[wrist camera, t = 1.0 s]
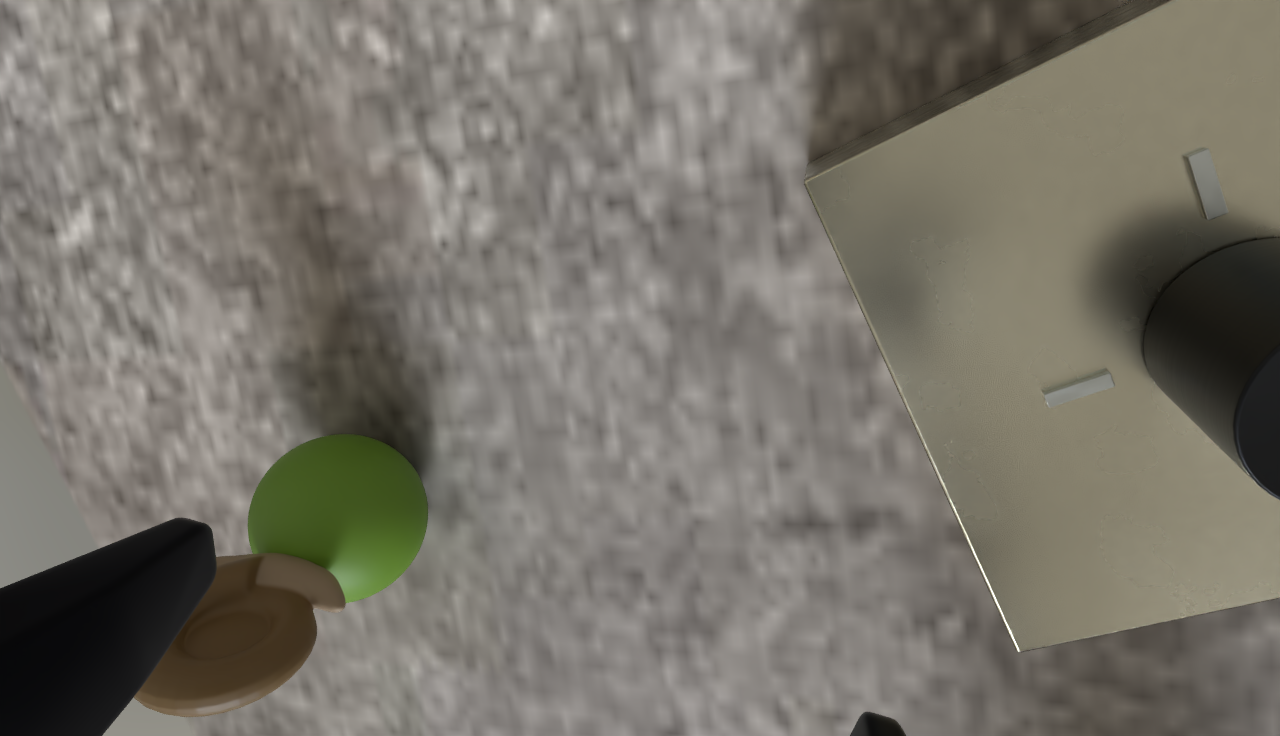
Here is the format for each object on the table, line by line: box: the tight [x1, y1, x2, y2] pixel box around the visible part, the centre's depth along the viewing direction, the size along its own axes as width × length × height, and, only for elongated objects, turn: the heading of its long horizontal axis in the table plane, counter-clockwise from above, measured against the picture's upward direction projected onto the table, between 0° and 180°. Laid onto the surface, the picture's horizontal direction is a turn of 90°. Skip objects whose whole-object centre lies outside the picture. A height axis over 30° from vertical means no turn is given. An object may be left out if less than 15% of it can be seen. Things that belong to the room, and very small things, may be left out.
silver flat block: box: [804, 0, 1280, 652], centre depth 17 cm, size 14×11×3 cm
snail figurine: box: [134, 434, 428, 717], centre depth 21 cm, size 5×6×12 cm
